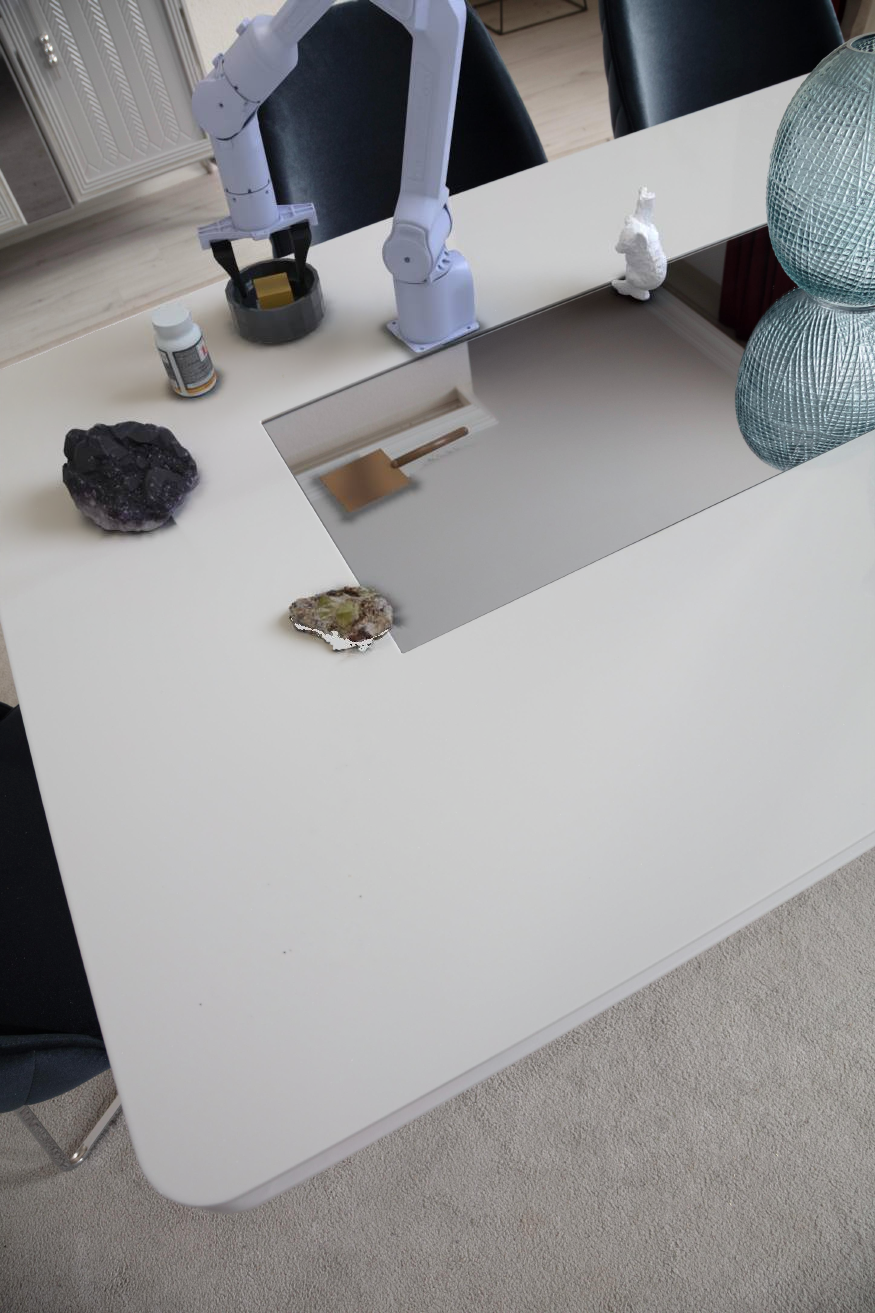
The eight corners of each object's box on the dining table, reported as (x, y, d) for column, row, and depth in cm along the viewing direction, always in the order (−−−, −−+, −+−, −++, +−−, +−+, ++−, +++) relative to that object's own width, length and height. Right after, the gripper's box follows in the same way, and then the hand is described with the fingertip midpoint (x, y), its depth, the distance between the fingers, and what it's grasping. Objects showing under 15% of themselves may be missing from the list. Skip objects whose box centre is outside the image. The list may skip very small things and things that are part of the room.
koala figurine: (613, 272, 123) (620, 181, 114) (665, 273, 122) (676, 182, 113) (608, 309, 119) (614, 218, 109) (661, 311, 117) (673, 219, 108)
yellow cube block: (292, 302, 125) (285, 271, 121) (298, 320, 122) (291, 289, 119) (260, 309, 124) (252, 279, 121) (265, 327, 122) (257, 297, 118)
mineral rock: (402, 575, 91) (383, 622, 85) (406, 611, 94) (388, 660, 88) (298, 570, 93) (272, 616, 87) (305, 606, 96) (280, 653, 90)
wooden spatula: (451, 418, 108) (450, 409, 107) (484, 450, 105) (484, 441, 104) (319, 481, 104) (317, 473, 103) (349, 516, 100) (347, 508, 99)
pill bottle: (222, 369, 118) (199, 299, 110) (211, 398, 114) (187, 328, 106) (179, 370, 118) (154, 300, 111) (167, 399, 115) (140, 328, 107)
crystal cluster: (226, 493, 105) (203, 416, 98) (126, 555, 99) (93, 478, 91) (158, 453, 112) (132, 378, 105) (61, 508, 105) (26, 433, 98)
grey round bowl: (300, 281, 128) (292, 247, 124) (341, 321, 122) (335, 287, 118) (220, 314, 125) (210, 280, 121) (258, 357, 119) (249, 323, 115)
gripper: (189, 211, 106) (221, 316, 117) (312, 184, 107) (333, 291, 118) (183, 183, 110) (215, 287, 121) (302, 157, 112) (323, 263, 122)
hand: (273, 287), depth 120 cm, fingers open, 7 cm apart
